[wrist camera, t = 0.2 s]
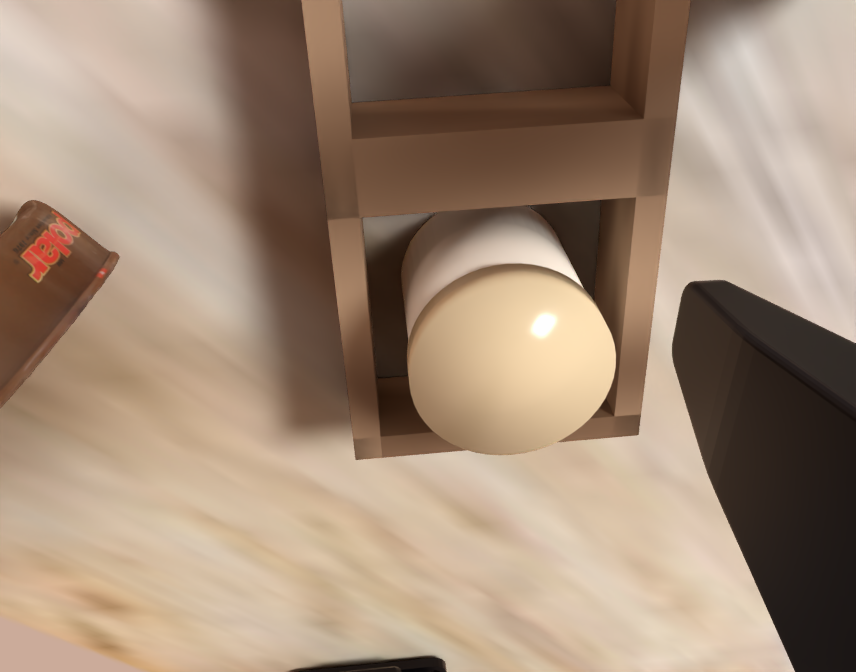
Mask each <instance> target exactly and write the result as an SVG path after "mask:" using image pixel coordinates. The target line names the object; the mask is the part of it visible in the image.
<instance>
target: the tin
mask: <svg viewBox="0 0 856 672" xmlns="http://www.w3.org/2000/svg"><path fill="white" fill-rule="evenodd" d="M118 260H119V255H118V254H117V253H115V252H110V251H108V250H106V249H105V248H104V247H102V246H101V245H100V244H98V243H97V242H96V241H95V240H93V239H92V238H91V237H90V236H88V235H87V234H86V233H84V232H83V231H82V230H81V229H79V228H78V227H77V226H76V225H74V224H73V223H72V222H71V221H69V220H68V219H67V218H65V217H64V216H63V215H62V214H60V213H59V212H58V211H56V210H54V209H53V208H51V207H50V206H48V205H47V204H44V203H42V202H40V201H36V200H31V201H28V202H26V203H25V204H24V205H23V206H22V207H21V209H20V210H19V212H18V214H17V215H16V217H15V219H14V221H13V222H12V224H11V225H10V227H9V228H8V229H6V230H5V231H4V232H3V233H2V234H1V235H0V408H1V407H2V406H3V405H4V404H5V402H6V401H7V400H8V399H9V398H10V397H11V396H12V395H13V394H14V393H15V391H16V390H17V389H18V388H19V387H20V386H21V384H22V383H23V382H24V381H25V380H26V379H27V378H28V377H29V376H30V375H31V373H32V372H33V371H34V370H35V368H36V367H37V366H38V365H39V363H40V362H41V361H42V360H43V359H44V358H45V357H46V355H47V354H48V353H49V352H50V350H51V349H52V348H53V347H54V345H55V344H56V343H57V342H58V340H59V339H60V338H61V337H62V336H63V335H64V333H65V332H66V331H67V330H68V329H69V327H70V326H71V325H72V324H73V323H74V321H75V320H76V319H77V317H78V316H79V315H80V313H81V312H82V311H83V309H84V308H85V307H86V305H87V304H88V302H89V301H90V300H91V299H92V298H93V296H94V295H95V293H96V292H97V291H98V290H99V289H100V288H101V287H102V284H103V283H104V282H105V280H106V279H107V277H108V276H109V275H110V274H111V272H112V271H113V269H114V267H115V265H116V264H117V262H118Z"/></svg>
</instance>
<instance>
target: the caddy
mask: <svg viewBox="0 0 856 672" xmlns="http://www.w3.org/2000/svg"><path fill="white" fill-rule="evenodd" d="M301 1H302V10H303V18H304V27H305V35H306V44H307V52H308V61H309V69H310V77H311V86H312V94H313V103H314V111H315V120H316V128H317V137H318V145H319V154H320V162H321V171H322V179H323V187H324V196H325V204H326V213H327V221H328V230H329V238H330V247H331V255H332V264H333V272H334V281H335V289H336V297H337V306H338V314H339V323H340V331H341V340H342V348H343V357H344V365H345V374H346V382H347V391H348V399H349V408H350V416H351V424H352V433H353V441H354V450H355V458H356V460H361V459H372V458H384V457H395V456H406V455H418V454H429V453H440V452H452V451H463V450H465V449H462V448H460V447H458V446H455V445H453V444H451V443H449V442H448V441H446V440H444V439H442V438H441V437H440V436H439V435H437V434H436V433H435V432H433V431H432V430H431V429H430V427H429V426H428V425H427V424H426V423H425V422H424V421H423V419H422V418H421V416H420V415H419V413H418V411H417V409H416V407H415V405H414V402H413V399H412V396H411V391H410V385H409V376H401V377H389V378H377V370H376V359H375V349H374V338H373V327H372V317H371V306H370V295H369V284H368V274H367V263H366V252H365V242H364V231H363V220H362V217H375V216H389V215H402V214H416V213H429V212H443V211H456V210H470V209H483V208H497V207H510V206H524V205H537V204H551V203H564V202H578V201H592V200H601V213H600V226H599V240H598V253H597V266H596V280H595V293H594V302H595V303H596V305H597V307H598V309H599V311H600V313H601V315H602V317H603V319H604V321H605V322H606V324H607V326H608V328H609V330H610V332H611V335H612V338H613V341H614V345H615V352H616V368H615V373H614V378H613V381H612V384H611V387H610V390H609V392H608V394H607V396H606V398H605V400H604V401H603V403H602V404H601V406H600V407H599V409H598V410H597V411H596V412H595V413H594V415H593V416H592V417H591V418H590V419H589V420H588V421H587V422H586V423H585V424H584V425H582V426H581V427H580V428H579V429H577V430H576V431H575V432H573V433H572V434H570V435H569V436H567V437H565V438H564V439H562V440H560V441H558V442H566V441H577V440H588V439H600V438H611V437H622V436H634V435H638V434H639V426H640V417H641V409H642V401H643V392H644V384H645V376H646V367H647V359H648V351H649V343H650V334H651V326H652V318H653V309H654V301H655V293H656V284H657V276H658V268H659V260H660V251H661V243H662V235H663V226H664V218H665V210H666V201H667V193H668V185H669V176H670V168H671V160H672V152H673V143H674V135H675V127H676V118H677V110H678V102H679V93H680V85H681V77H682V68H683V60H684V52H685V44H686V35H687V27H688V19H689V10H690V2H691V0H616V13H615V26H614V39H613V53H612V66H611V79H610V85H608V86H594V87H579V88H564V89H549V90H534V91H519V92H504V93H489V94H475V95H460V96H445V97H430V98H415V99H400V100H385V101H371V102H356V103H352V102H351V91H350V81H349V70H348V59H347V49H346V38H345V27H344V16H343V6H342V0H301Z"/></svg>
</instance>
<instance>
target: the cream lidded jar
mask: <svg viewBox="0 0 856 672" xmlns="http://www.w3.org/2000/svg"><path fill="white" fill-rule="evenodd" d="M401 282H402V291H403V299H404V308H405V316H406V325H407V333H408V347H407V367H408V376H409V385H410V391H411V396H412V399H413V402H414V405H415V407H416V409H417V411H418V413H419V415H420V416H421V418H422V419H423V421H424V422H425V423H426V424H427V425H428V426H429V427H430V429H431V430H432V431H433V432H435V433H436V434H437V435H439V436H440V437H441V438H442V439H444V440H446V441H448V442H449V443H451V444H453V445H455V446H458V447H460V448H462V449H465V450H469V451H472V452H476V453H482V454H490V455H513V454H520V453H526V452H530V451H535V450H538V449H541V448H544V447H547V446H549V445H552V444H554V443H556V442H558V441H560V440H562V439H564V438H565V437H567V436H569V435H570V434H572V433H573V432H575V431H576V430H577V429H579V428H580V427H581V426H582V425H584V424H585V423H586V422H587V421H588V420H589V419H590V418H591V417H592V416H593V415H594V413H595V412H596V411H597V410H598V409H599V407H600V406H601V404H602V403H603V401H604V400H605V398H606V396H607V394H608V392H609V390H610V387H611V384H612V381H613V378H614V373H615V368H616V352H615V345H614V341H613V338H612V335H611V332H610V330H609V328H608V326H607V324H606V322H605V321H604V319H603V317H602V315H601V313H600V311H599V309H598V307H597V305H596V303H595V302H594V300H593V299H592V297H591V296H590V295H589V293H588V292H587V291H586V290H585V289H584V288H583V286H582V284H581V282H580V280H579V278H578V276H577V274H576V272H575V270H574V268H573V267H572V265H571V263H570V261H569V259H568V257H567V255H566V253H565V251H564V249H563V247H562V245H561V243H560V241H559V239H558V237H557V235H556V233H555V231H554V230H553V228H552V227H551V226H550V224H549V223H548V222H547V221H546V220H545V219H544V218H543V217H542V216H541V215H539V214H538V213H537V212H536V211H534V210H533V209H531V208H529V207H527V206H525V205H524V206H510V207H497V208H483V209H470V210H456V211H443V212H438V213H437V214H436V215H434V216H433V217H431V218H430V219H429V220H428V221H427V222H426V223H425V224H424V225H423V226H422V227H421V228H420V229H419V230H418V232H417V233H416V234H415V236H414V237H413V239H412V240H411V242H410V244H409V246H408V248H407V250H406V253H405V256H404V259H403V264H402V270H401Z"/></svg>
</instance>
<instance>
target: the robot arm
mask: <svg viewBox="0 0 856 672" xmlns="http://www.w3.org/2000/svg"><path fill="white" fill-rule="evenodd" d="M672 358H673V363H674V367H675V370H676V373H677V377H678V380H679V383H680V387H681V390H682V393H683V396H684V400H685V403H686V406H687V410H688V413H689V416H690V419H691V423H692V426H693V429H694V433H695V436H696V439H697V442H698V446H699V449H700V452H701V456H702V459H703V462H704V464H705V467H706V470H707V473H708V476H709V478H710V481H711V483H712V486H713V488H714V490H715V493H716V495H717V497H718V500H719V502H720V504H721V506H722V509H723V511H724V513H725V515H726V518H727V520H728V522H729V524H730V527H731V529H732V531H733V533H734V536H735V538H736V540H737V542H738V544H739V547H740V549H741V551H742V553H743V556H744V558H745V560H746V562H747V565H748V567H749V569H750V571H751V574H752V576H753V578H754V580H755V583H756V585H757V587H758V589H759V592H760V594H761V596H762V598H763V601H764V603H765V605H766V607H767V610H768V612H769V614H770V616H771V619H772V621H773V623H774V625H775V628H776V630H777V632H778V634H779V637H780V639H781V641H782V643H783V646H784V648H785V650H786V652H787V655H788V657H789V659H790V661H791V664H792V666H793V668H794V670H795V672H856V343H854V342H852V341H850V340H848V339H845V338H843V337H841V336H839V335H837V334H835V333H833V332H831V331H829V330H827V329H825V328H823V327H821V326H819V325H817V324H814V323H812V322H810V321H808V320H806V319H804V318H802V317H800V316H798V315H796V314H794V313H792V312H790V311H788V310H786V309H783V308H781V307H779V306H777V305H775V304H773V303H771V302H769V301H767V300H765V299H763V298H761V297H759V296H757V295H755V294H752V293H750V292H748V291H746V290H744V289H742V288H740V287H738V286H736V285H734V284H732V283H730V282H728V281H725V280H710V281H694V282H690V283H689V284H688V285H687V286H686V287H685V289H684V291H683V293H682V297H681V302H680V307H679V312H678V317H677V322H676V327H675V332H674V337H673V342H672ZM300 672H447V671H446V664H445V661H443V660H442V659H439V658H428V659H418V660H408V661H398V662H388V663H378V664H368V665H358V666H348V667H338V668H328V669H318V670H308V671H300Z"/></svg>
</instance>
